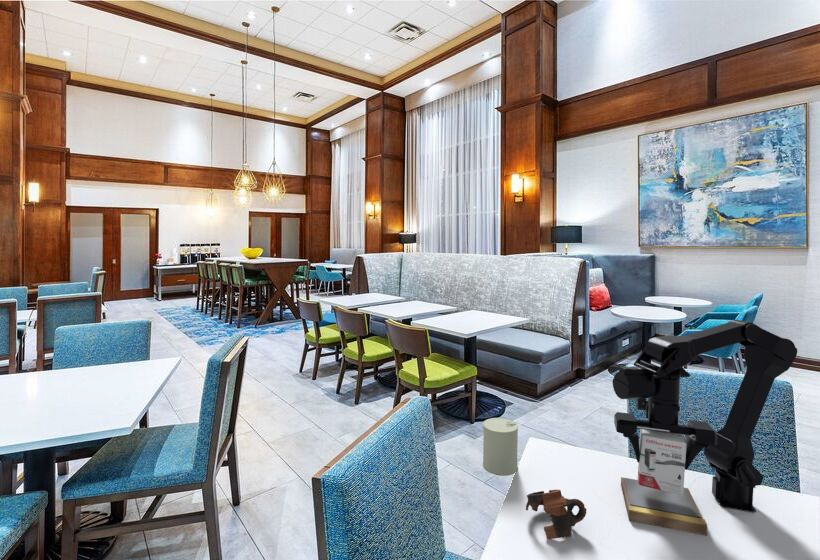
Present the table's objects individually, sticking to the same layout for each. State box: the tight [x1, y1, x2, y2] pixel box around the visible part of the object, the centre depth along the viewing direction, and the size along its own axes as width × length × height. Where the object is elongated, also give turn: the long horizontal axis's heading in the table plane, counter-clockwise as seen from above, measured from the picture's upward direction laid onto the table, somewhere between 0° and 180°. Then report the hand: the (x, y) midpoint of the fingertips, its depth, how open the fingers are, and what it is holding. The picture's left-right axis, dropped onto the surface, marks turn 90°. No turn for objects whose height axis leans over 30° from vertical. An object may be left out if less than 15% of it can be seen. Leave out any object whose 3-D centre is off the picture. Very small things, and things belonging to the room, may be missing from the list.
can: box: [482, 417, 519, 477], centre depth 110 cm, size 9×9×12 cm
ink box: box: [637, 429, 686, 495], centre depth 92 cm, size 9×5×12 cm, turn 63°
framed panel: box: [620, 477, 708, 536], centre depth 93 cm, size 14×14×2 cm
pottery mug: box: [525, 489, 587, 540], centre depth 88 cm, size 12×10×8 cm
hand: (661, 465), depth 92 cm, fingers closed on ink box, 9 cm apart
